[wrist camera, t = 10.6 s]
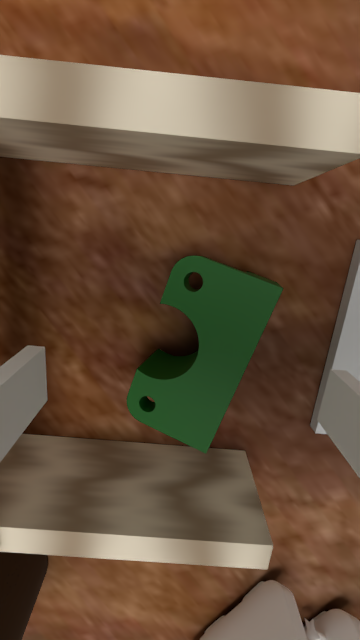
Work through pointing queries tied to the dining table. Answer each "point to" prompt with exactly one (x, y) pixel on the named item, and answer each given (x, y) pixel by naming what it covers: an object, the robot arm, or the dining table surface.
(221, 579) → the dining table surface
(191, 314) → the clamp
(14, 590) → the olive oil
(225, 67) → the dining table surface
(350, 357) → the grey pad
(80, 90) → the stand
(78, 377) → the dining table surface
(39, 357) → the robot arm
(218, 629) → the cable organizer
